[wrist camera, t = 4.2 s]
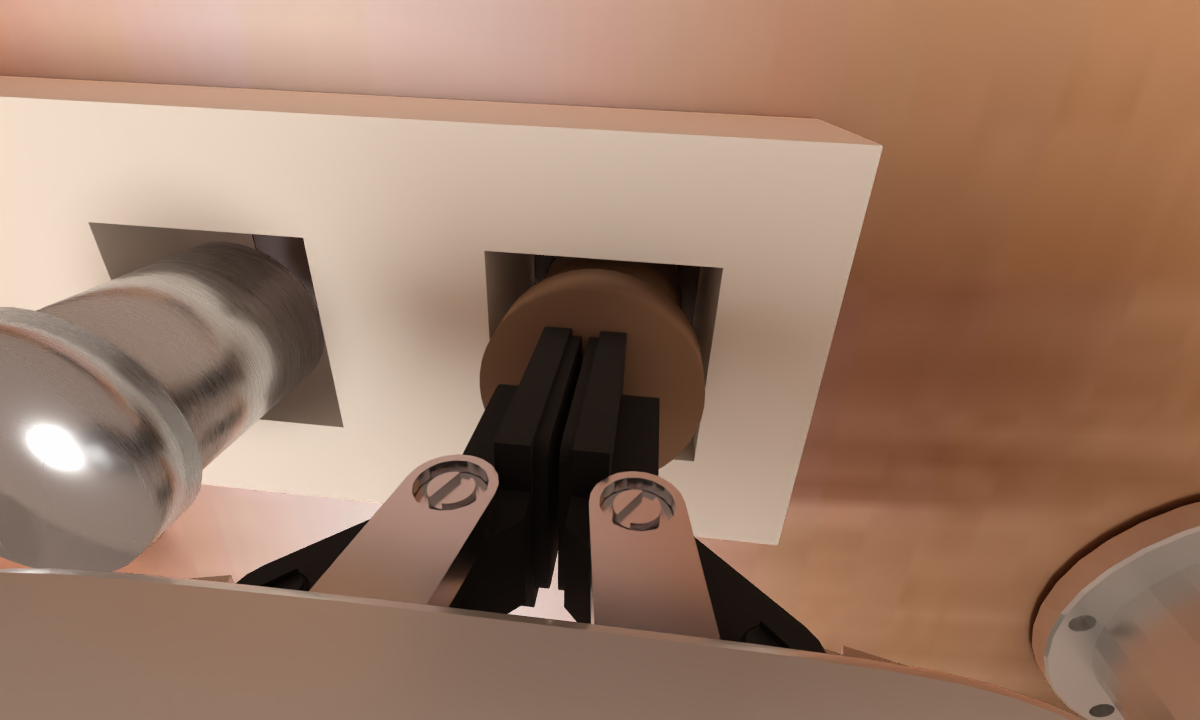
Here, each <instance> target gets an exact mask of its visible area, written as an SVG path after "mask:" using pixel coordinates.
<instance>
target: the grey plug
mask: <svg viewBox="0 0 1200 720" xmlns="http://www.w3.org/2000/svg"><path fill="white" fill-rule="evenodd" d="M323 349H324V333H323V328H322V324H321V319H320V314H319V311H318V309H317V307H316V305H315V303H314V301H313V299H312V297H311V296H310V294H309V293H308V291H307V290H306V289H305V287H304V286H303V285H302V284H301V282H300V281H299V280H298V279H297V278H296V277H295V276H294V275H293V274H292V273H291V272H290V271H289V270H288V269H287V268H285V267H284V266H283V265H281V264H280V263H279V262H277V261H276V260H274V259H273V258H271V257H270V256H268V255H266V254H264V253H262V252H260V251H258V250H256V249H253V248H251V247H248V246H245V245H241V244H238V243H232V242H208V243H203V244H200V245H197V246H194V247H192V248H189V249H187V250H185V251H182V252H180V253H177V254H175V255H172V256H170V257H167V258H165V259H162V260H160V261H157V262H155V263H152V264H150V265H147V266H145V267H142V268H140V269H138V270H135V271H133V272H130V273H128V274H125V275H123V276H120V277H118V278H115V279H113V280H110V281H108V282H105V283H103V284H100V285H98V286H95V287H93V288H91V289H88V290H86V291H83V292H81V293H78V294H76V295H73V296H71V297H68V298H66V299H63V300H61V301H58V302H56V303H53V304H51V305H48V306H46V307H43V308H41V309H39V310H36V311H33V310H28V309H22V308H15V307H0V557H2V558H5V559H7V560H10V561H12V562H15V563H18V564H21V565H24V566H27V567H30V568H60V569H75V570H90V571H105V572H112V571H115V570H118V569H120V568H122V567H124V566H126V565H128V564H129V563H131V562H132V561H133V560H134V559H135V558H137V557H138V556H139V555H140V554H141V553H142V552H143V551H144V550H145V549H146V548H147V547H148V546H149V545H150V544H151V543H153V542H154V541H155V540H156V539H157V538H158V537H159V536H160V535H161V534H162V533H163V532H164V531H165V530H166V529H167V528H168V527H169V526H170V525H172V524H173V523H174V522H175V521H176V520H177V519H178V518H179V517H180V516H181V515H182V514H183V513H184V512H185V511H186V510H187V509H188V508H189V507H190V506H191V505H192V503H193V502H194V501H195V499H196V497H197V495H198V493H199V491H200V486H201V482H202V470H203V469H204V468H205V467H206V466H208V465H209V464H210V463H211V462H212V461H213V460H214V459H215V458H217V457H218V456H219V455H220V454H221V453H222V452H223V451H224V450H226V449H227V448H228V447H229V446H230V445H231V444H232V443H233V442H234V441H236V440H237V439H238V438H239V437H240V436H241V435H242V434H243V433H245V432H246V431H247V430H248V429H249V428H250V427H251V426H252V425H254V424H255V423H256V422H257V421H258V420H259V419H260V418H261V417H262V416H264V415H265V414H266V413H267V412H268V411H269V410H270V409H271V408H273V407H274V406H275V405H276V404H277V403H278V402H279V401H280V400H282V399H283V398H284V397H285V396H286V395H287V394H288V393H289V392H291V391H292V390H293V389H294V388H295V387H296V386H297V385H298V384H299V383H301V382H302V381H303V380H304V379H305V378H306V377H307V376H308V375H310V374H311V373H312V372H313V370H314V369H315V368H316V367H317V365H318V363H319V361H320V359H321V356H322V353H323Z"/></svg>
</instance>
